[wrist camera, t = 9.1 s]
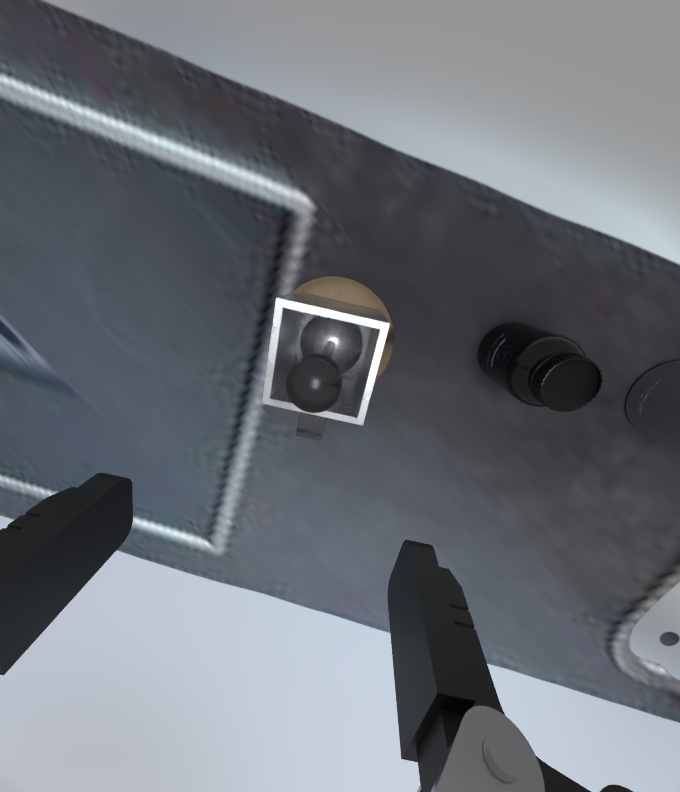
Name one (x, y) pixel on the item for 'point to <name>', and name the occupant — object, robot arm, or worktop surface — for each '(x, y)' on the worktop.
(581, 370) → the supplement bottle
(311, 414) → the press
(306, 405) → the plunger
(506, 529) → the worktop surface
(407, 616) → the robot arm
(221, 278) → the worktop surface
